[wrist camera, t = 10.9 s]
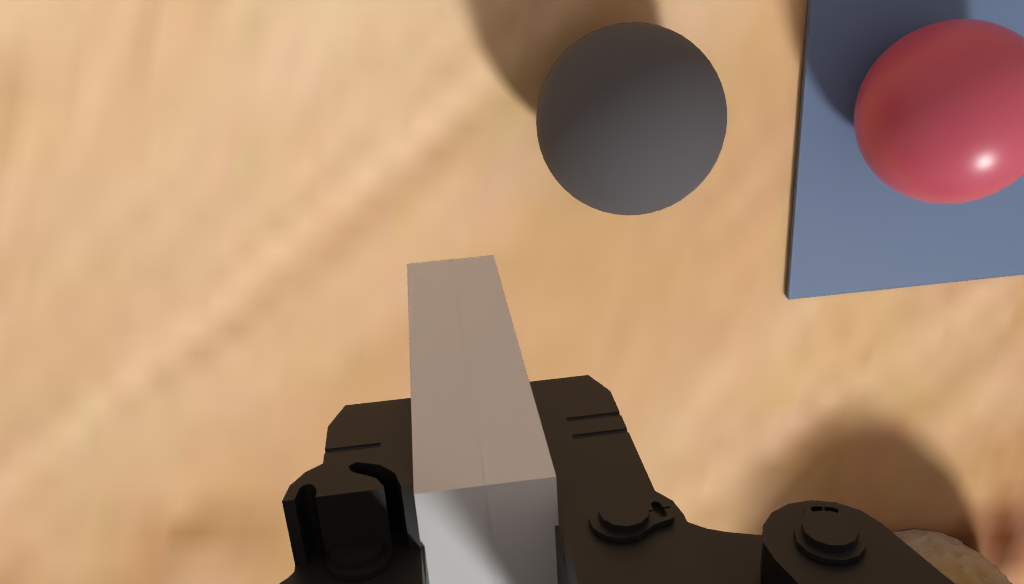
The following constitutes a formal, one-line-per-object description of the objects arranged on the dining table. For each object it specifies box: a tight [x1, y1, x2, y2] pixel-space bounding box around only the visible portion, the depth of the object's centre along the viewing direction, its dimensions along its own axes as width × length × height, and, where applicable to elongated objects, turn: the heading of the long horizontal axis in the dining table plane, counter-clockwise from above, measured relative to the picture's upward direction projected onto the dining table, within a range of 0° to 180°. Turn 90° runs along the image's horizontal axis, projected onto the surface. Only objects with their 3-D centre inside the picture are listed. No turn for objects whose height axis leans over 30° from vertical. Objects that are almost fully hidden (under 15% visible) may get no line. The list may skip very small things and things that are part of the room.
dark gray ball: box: [536, 22, 727, 215], centre depth 26 cm, size 6×6×6 cm
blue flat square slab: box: [786, 0, 1024, 299], centre depth 29 cm, size 14×14×1 cm
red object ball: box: [854, 19, 1024, 204], centre depth 27 cm, size 6×6×6 cm
